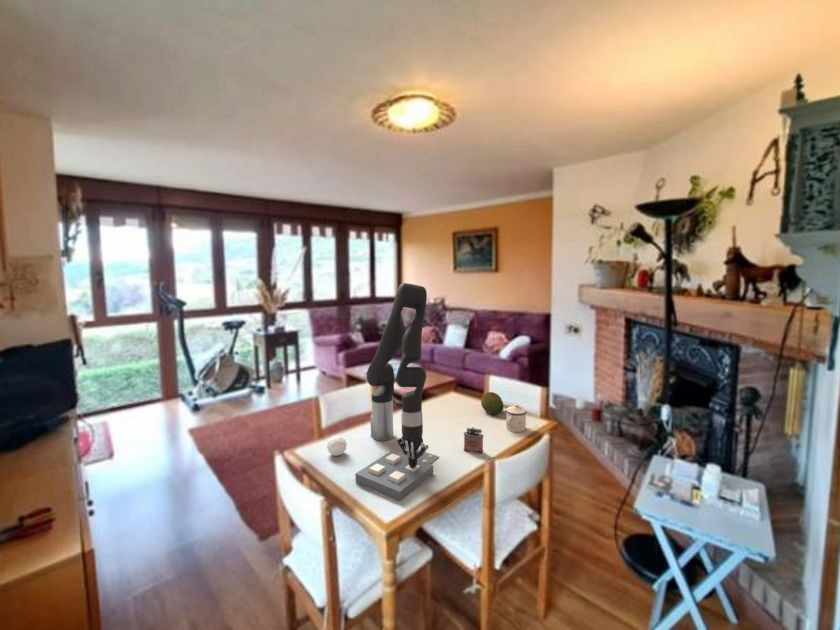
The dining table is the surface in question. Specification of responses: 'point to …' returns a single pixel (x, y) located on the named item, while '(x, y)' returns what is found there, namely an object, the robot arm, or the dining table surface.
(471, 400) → the dining table surface
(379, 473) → the button
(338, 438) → the geometric ball
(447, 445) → the dining table surface
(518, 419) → the teacup with lid
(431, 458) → the pattern card
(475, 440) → the lighter
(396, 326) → the robot arm
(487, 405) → the fruit
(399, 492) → the button box
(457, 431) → the dining table surface
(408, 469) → the button
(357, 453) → the dining table surface
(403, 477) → the button
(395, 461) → the button
